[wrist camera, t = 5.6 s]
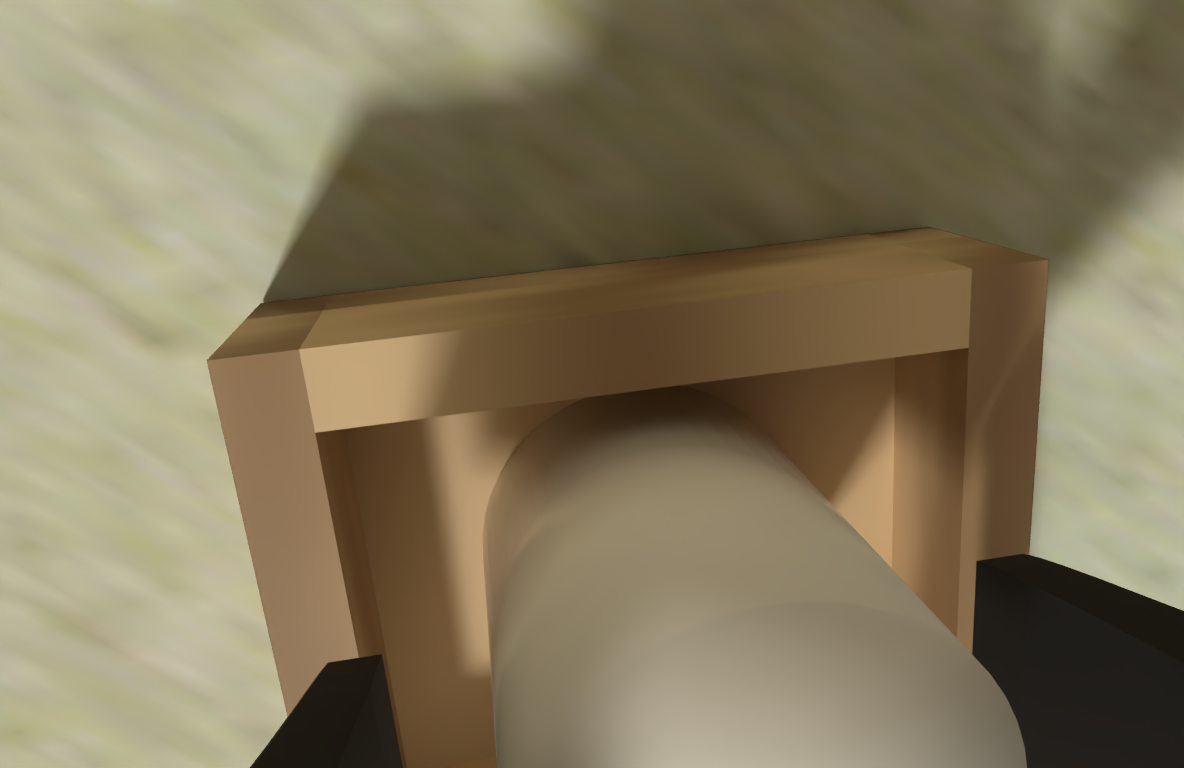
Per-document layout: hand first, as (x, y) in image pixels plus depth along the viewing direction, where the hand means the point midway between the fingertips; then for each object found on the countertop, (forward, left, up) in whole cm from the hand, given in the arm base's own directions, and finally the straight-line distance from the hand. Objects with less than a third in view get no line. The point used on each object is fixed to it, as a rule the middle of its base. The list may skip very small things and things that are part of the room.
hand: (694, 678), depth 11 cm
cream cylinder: (0, 0, -3) cm, 3 cm away
